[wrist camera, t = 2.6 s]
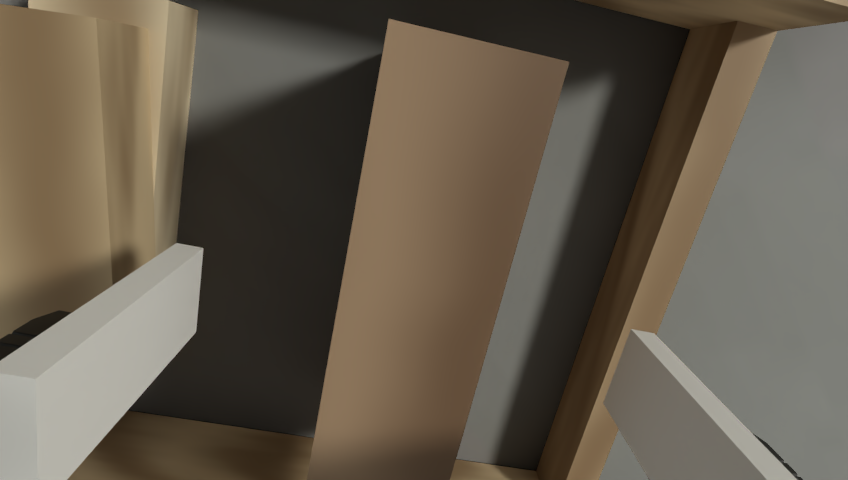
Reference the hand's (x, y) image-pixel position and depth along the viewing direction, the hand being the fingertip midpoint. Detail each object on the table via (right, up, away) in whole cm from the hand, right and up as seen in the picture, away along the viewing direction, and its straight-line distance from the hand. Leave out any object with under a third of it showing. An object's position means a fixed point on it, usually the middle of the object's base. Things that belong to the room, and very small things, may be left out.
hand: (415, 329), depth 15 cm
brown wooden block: (-1, +3, +7) cm, 8 cm away
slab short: (-12, +5, +4) cm, 14 cm away
